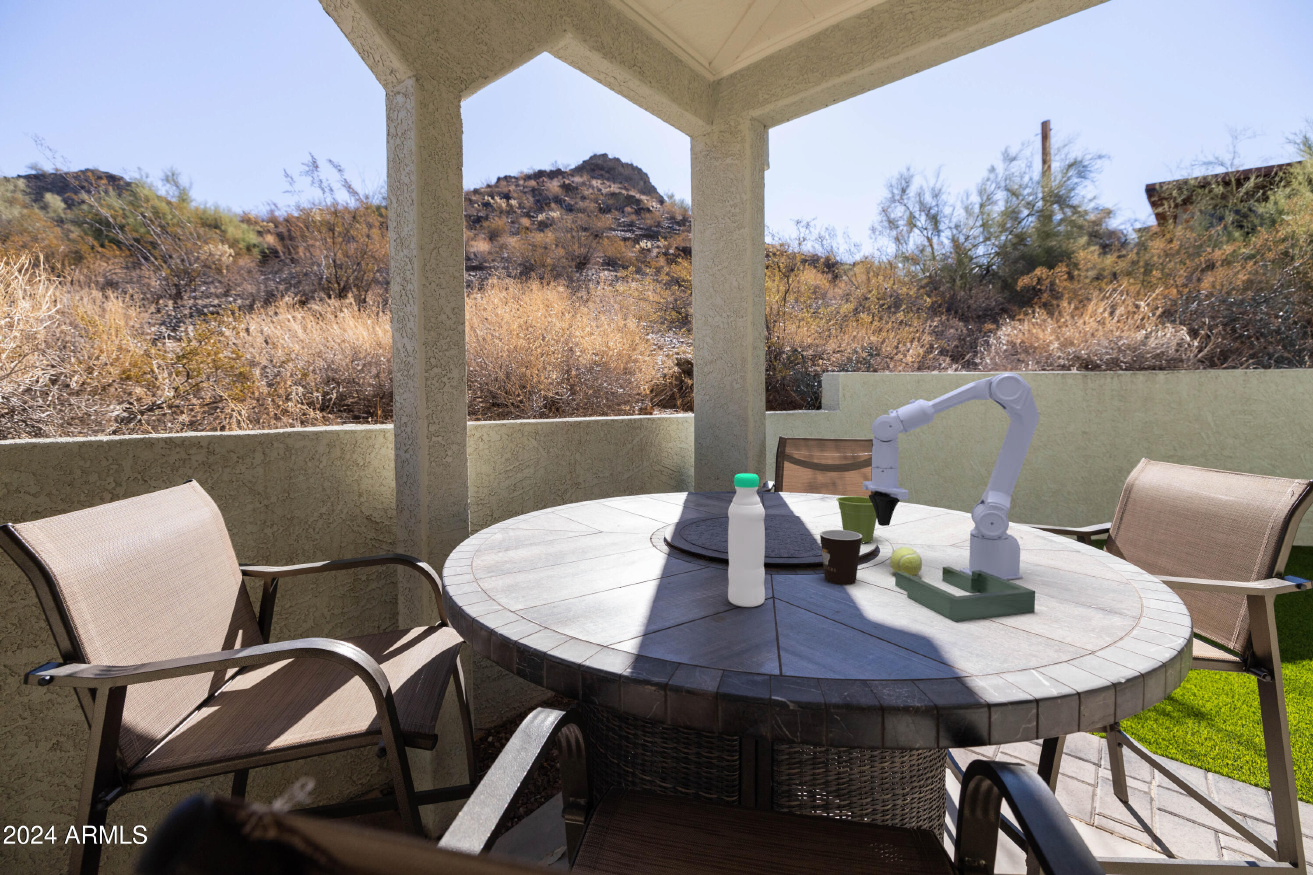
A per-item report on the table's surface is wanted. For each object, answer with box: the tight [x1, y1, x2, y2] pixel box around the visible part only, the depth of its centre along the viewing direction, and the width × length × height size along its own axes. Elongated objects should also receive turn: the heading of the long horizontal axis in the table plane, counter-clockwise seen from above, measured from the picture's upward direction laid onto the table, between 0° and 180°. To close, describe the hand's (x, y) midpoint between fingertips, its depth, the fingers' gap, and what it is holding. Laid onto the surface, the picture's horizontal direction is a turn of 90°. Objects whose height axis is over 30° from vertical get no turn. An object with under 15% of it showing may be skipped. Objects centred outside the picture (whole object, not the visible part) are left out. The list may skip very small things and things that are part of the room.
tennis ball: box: [889, 546, 923, 576], centre depth 129 cm, size 6×7×7 cm
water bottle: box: [727, 472, 766, 608], centre depth 113 cm, size 7×7×25 cm
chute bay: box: [894, 566, 1036, 623], centre depth 114 cm, size 17×20×4 cm
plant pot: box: [836, 495, 877, 544], centre depth 158 cm, size 12×12×11 cm
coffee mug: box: [819, 529, 862, 586], centre depth 127 cm, size 12×9×10 cm
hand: (883, 525), depth 136 cm, fingers closed
